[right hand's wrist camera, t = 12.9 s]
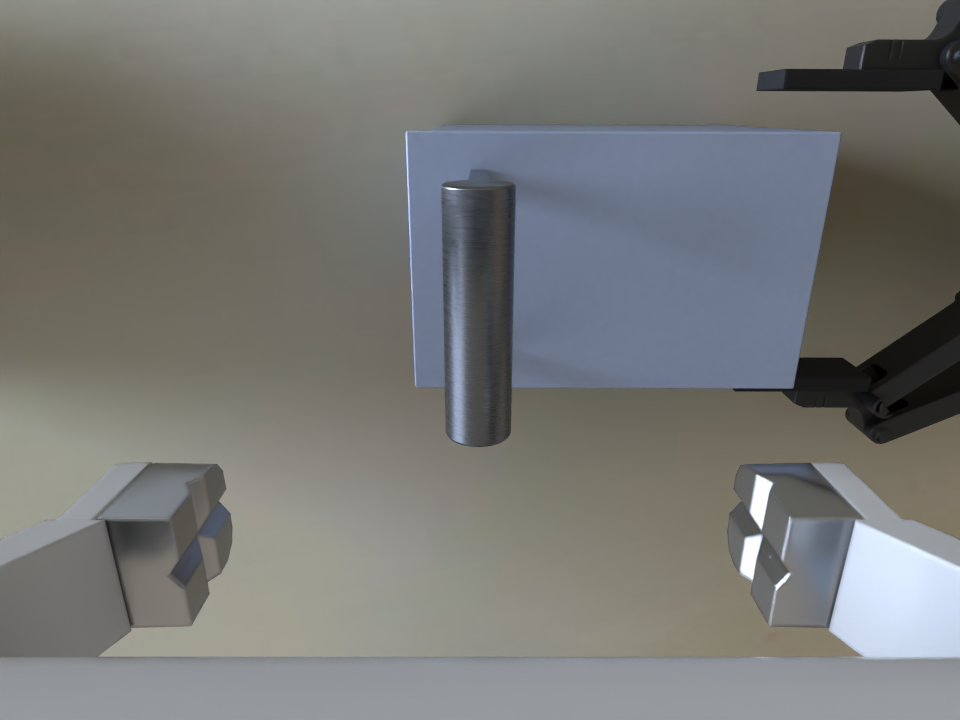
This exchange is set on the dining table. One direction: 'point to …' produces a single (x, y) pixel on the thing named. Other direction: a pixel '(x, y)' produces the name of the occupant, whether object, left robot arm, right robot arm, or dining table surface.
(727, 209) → the lid
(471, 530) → the dining table surface
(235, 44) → the dining table surface
